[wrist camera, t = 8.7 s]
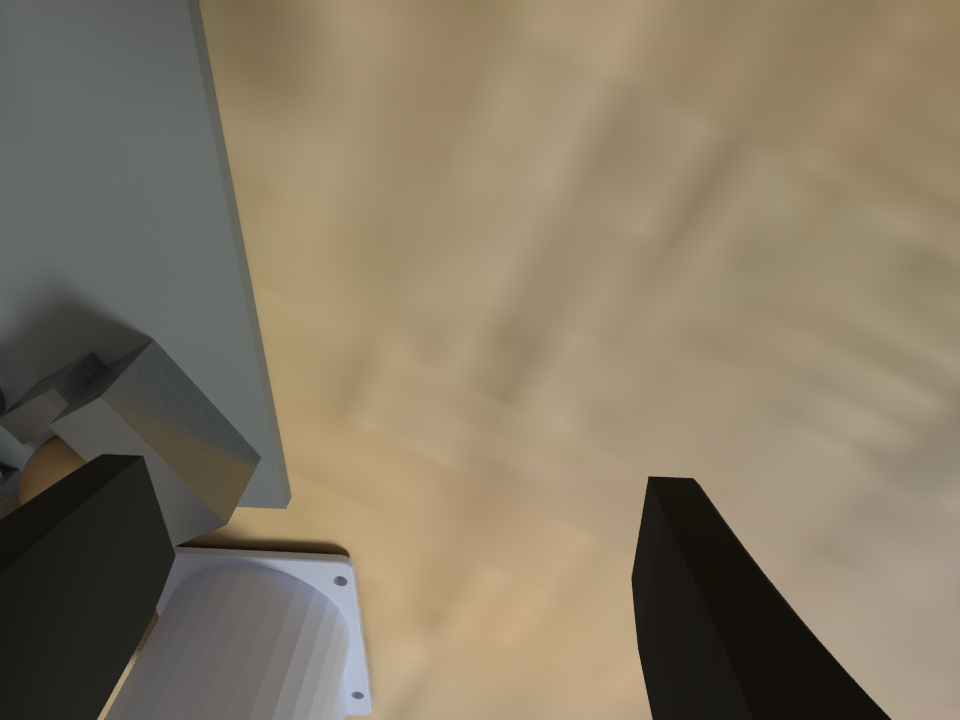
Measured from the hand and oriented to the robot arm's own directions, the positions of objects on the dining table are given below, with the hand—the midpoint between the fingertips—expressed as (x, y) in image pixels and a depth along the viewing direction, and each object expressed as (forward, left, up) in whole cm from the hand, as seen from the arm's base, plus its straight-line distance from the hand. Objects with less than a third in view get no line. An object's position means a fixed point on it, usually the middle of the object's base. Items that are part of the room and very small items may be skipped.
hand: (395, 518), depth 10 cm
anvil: (-6, +10, -10) cm, 15 cm away
